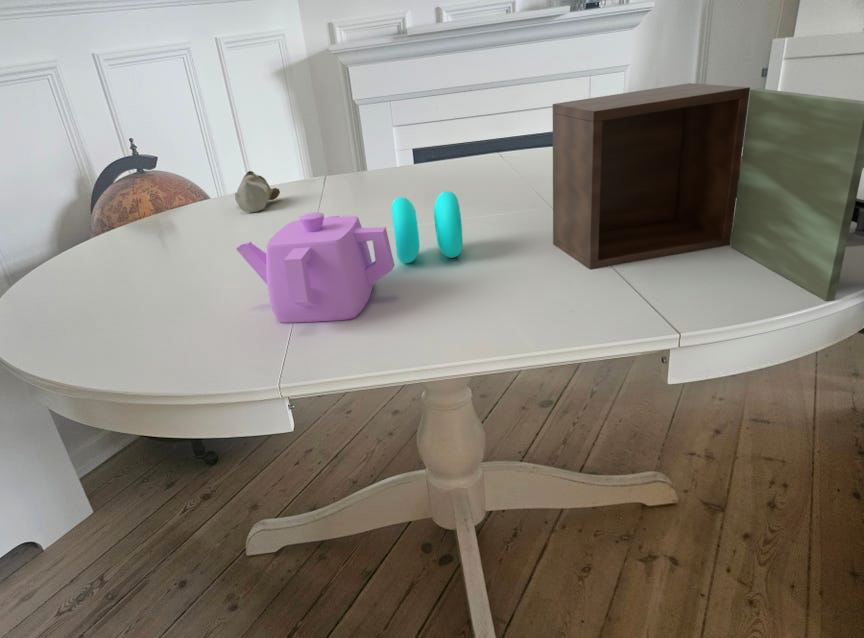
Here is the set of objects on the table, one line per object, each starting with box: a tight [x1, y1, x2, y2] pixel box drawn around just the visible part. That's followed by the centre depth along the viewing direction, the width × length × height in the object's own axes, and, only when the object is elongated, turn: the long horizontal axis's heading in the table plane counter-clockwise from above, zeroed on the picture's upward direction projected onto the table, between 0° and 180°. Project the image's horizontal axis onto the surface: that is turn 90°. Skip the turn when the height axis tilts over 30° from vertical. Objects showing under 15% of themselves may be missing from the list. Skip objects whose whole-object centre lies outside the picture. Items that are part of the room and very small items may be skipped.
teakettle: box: [236, 211, 395, 324], centre depth 85 cm, size 17×17×12 cm
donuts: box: [391, 190, 464, 264], centre depth 96 cm, size 10×10×10 cm
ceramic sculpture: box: [234, 170, 281, 213], centre depth 147 cm, size 11×9×15 cm
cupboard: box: [552, 82, 751, 271], centre depth 88 cm, size 13×20×20 cm, turn 99°
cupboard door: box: [730, 88, 864, 302], centre depth 73 cm, size 7×20×20 cm, turn 1°
